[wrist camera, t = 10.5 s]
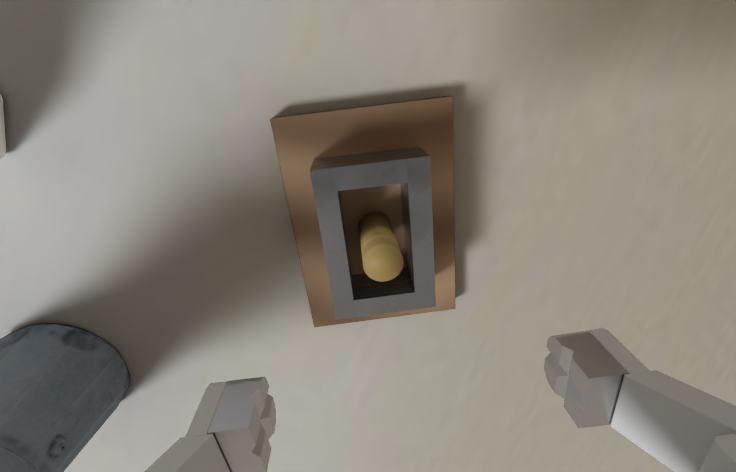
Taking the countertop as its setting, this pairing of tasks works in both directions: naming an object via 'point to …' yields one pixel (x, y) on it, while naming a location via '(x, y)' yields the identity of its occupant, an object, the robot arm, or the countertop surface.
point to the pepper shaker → (2, 130)
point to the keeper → (369, 194)
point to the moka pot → (54, 395)
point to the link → (414, 178)
